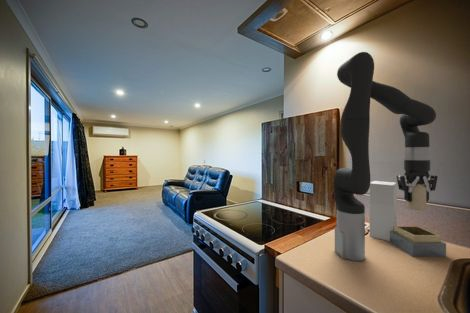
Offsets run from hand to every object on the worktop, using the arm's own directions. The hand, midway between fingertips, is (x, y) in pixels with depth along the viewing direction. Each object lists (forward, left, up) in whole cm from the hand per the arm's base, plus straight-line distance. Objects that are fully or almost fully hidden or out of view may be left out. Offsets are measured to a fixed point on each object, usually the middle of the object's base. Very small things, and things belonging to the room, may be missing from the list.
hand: (416, 201), depth 76 cm
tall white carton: (-4, +12, -20) cm, 24 cm away
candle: (0, 0, -3) cm, 3 cm away
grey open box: (0, 0, -19) cm, 19 cm away
